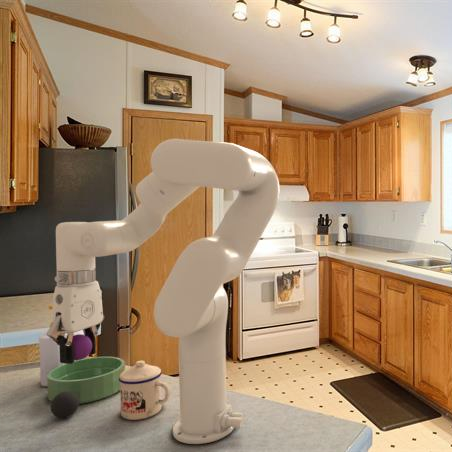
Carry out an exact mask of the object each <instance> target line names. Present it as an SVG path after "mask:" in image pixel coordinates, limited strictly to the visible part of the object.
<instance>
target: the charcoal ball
mask: <svg viewBox="0 0 452 452" xmlns="http://www.w3.org/2000/svg"><path fill="white" fill-rule="evenodd" d="M79 405H80V404H79V398H78V396H77V395H76V394H75V393H73V392H70V391H65V392H61V393H59V394H58V395H56V396H55V397H54V399H53V400H52V401H50V406H49V407H50V413H51V414H52V415H53V416H54V417H56V418H58V419H65V418H69V417H70V416H72V415H74V414H75V413H76V411H77V410H78V408H79Z"/></svg>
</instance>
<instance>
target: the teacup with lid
mask: <svg viewBox="0 0 452 452" xmlns="http://www.w3.org/2000/svg"><path fill="white" fill-rule="evenodd" d="M162 374H163V373H162V369H161V367H159V366H156V365H151V364H148V363H146V362H145V360H138V361H136V362H135V365H133V366H131V367H130V368H128V369H125V371H124V372H122V373H121V374H120V376H119V381H120V390H119V393H120V415H121V417H122V418H124V419H126V420H130V421H136V420H143V419H147V418H150V417H153V416H154V415H156V414H158V413H159V412H160V411H161V410H162V405H163V404H165V403H166V402H168V400H169V399H170V396H171V387H170V386H169V384H168V383H167V382H165V381H162ZM162 388H163V390H164V391H165V394H164V398H163V399H162Z"/></svg>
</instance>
